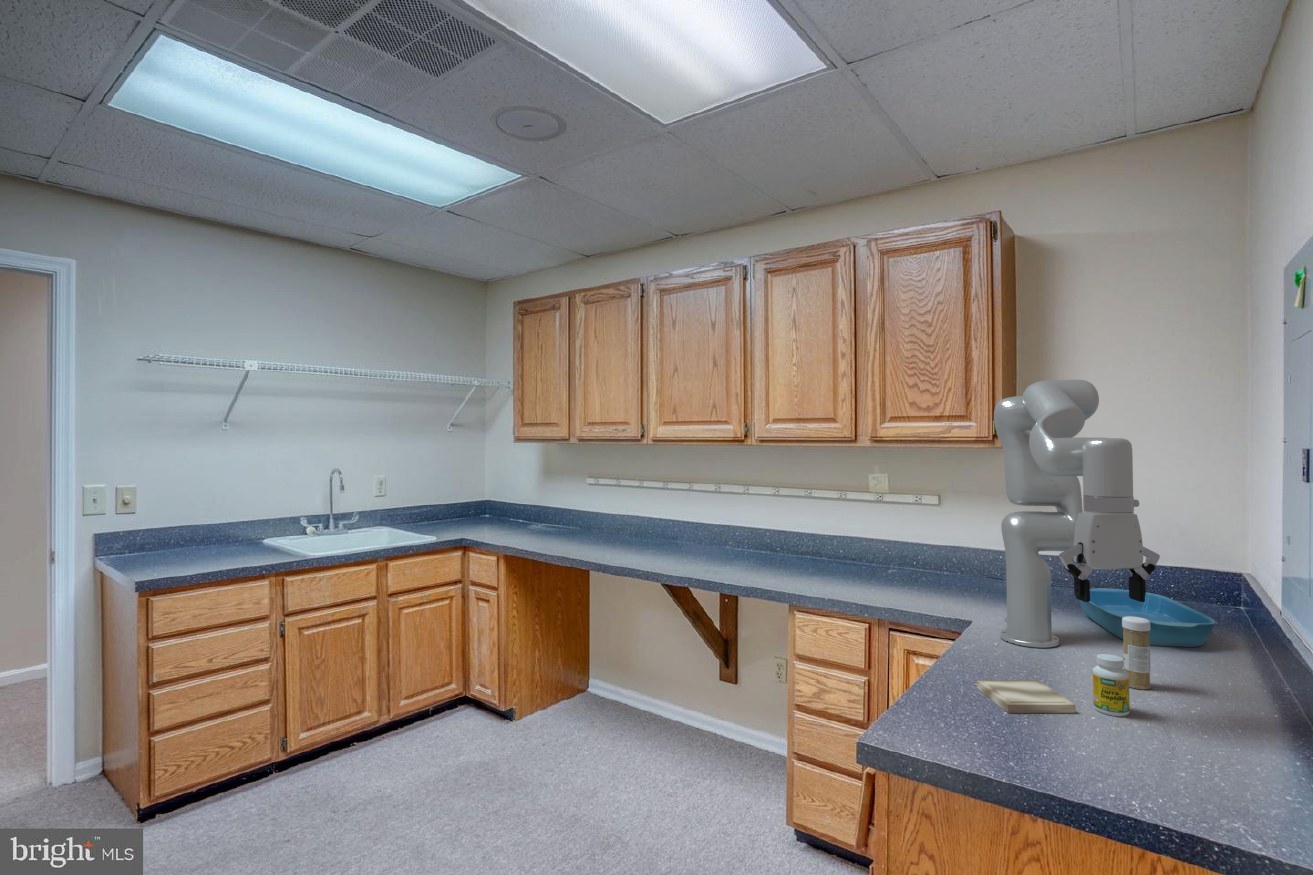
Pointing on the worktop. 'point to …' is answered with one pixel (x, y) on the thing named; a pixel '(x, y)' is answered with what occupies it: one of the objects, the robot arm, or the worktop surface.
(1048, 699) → the cream square tray
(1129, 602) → the casserole dish
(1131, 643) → the sprinkles bottle
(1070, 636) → the worktop surface
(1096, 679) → the supplement bottle
